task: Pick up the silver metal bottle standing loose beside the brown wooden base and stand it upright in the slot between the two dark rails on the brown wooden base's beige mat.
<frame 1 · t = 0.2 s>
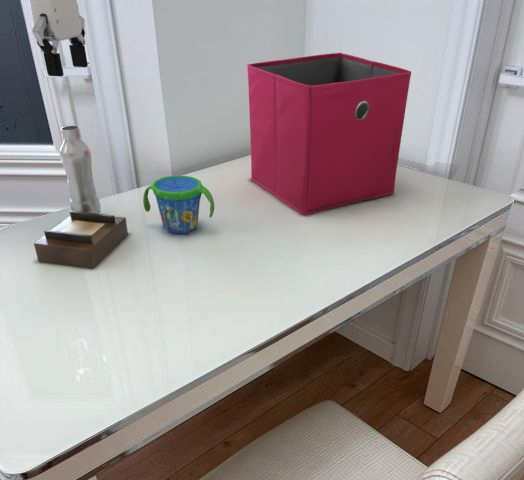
hand: (68, 71, 112), 30 cm above the table, tool pointing down, fingers open, 9 cm apart
snack cup: (181, 228, 123), on the table
silver metal bottle: (88, 218, 128), on the table
brown wooden base: (85, 247, 115), on the table
storage bin: (319, 188, 143), on the table
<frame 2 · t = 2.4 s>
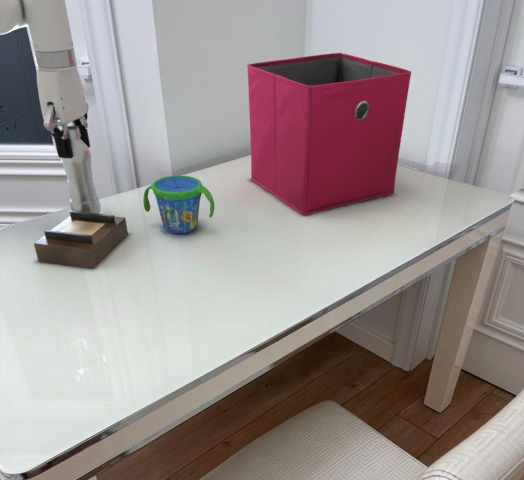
hand: (74, 151, 118), 15 cm above the table, tool pointing down, fingers closed on silver metal bottle, 6 cm apart
silver metal bottle: (88, 218, 128), on the table, touching gripper
everything else where it was.
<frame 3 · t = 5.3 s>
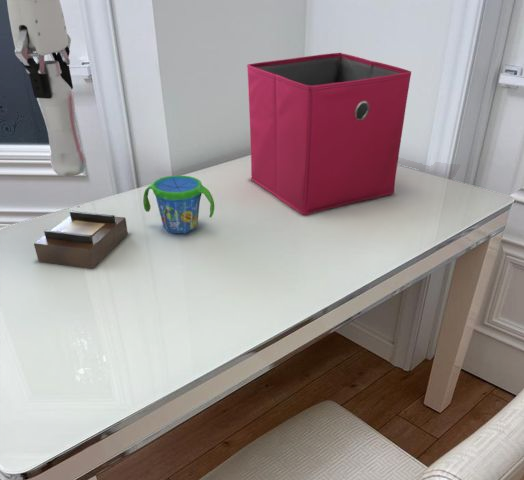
hand: (54, 92, 100), 29 cm above the table, tool pointing down, fingers closed on silver metal bottle, 6 cm apart
silver metal bottle: (71, 175, 109), point 14 cm above the table, touching gripper
everything else where it was.
when the fingers open (19 cm above the table, at t = 8.4 s): silver metal bottle stays where it is, resting on brown wooden base.
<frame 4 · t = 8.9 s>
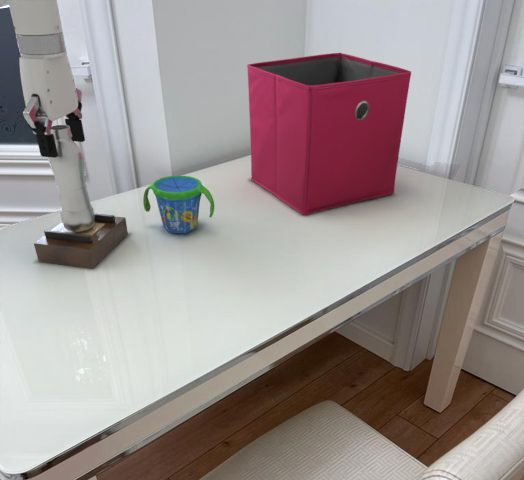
hand: (63, 148, 103), 20 cm above the table, tool pointing down, fingers open, 9 cm apart
silver metal bottle: (81, 229, 113), point 4 cm above the table, touching brown wooden base
everything else where it was.
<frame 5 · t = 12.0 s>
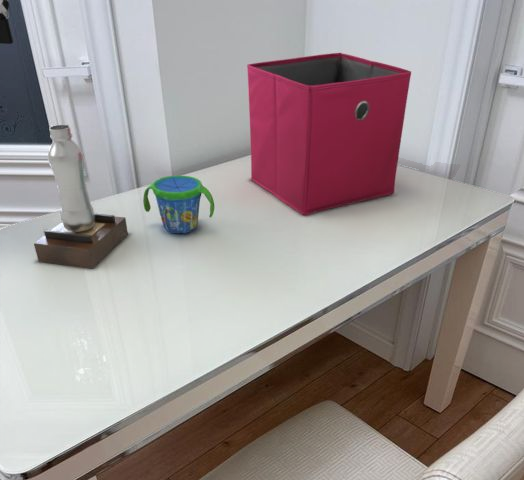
nothing on the table moved.
at the end: silver metal bottle 0.1 cm from the target spot, point 4.0 cm above the table; silver metal bottle tilted 0°; the gripper is holding nothing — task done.
